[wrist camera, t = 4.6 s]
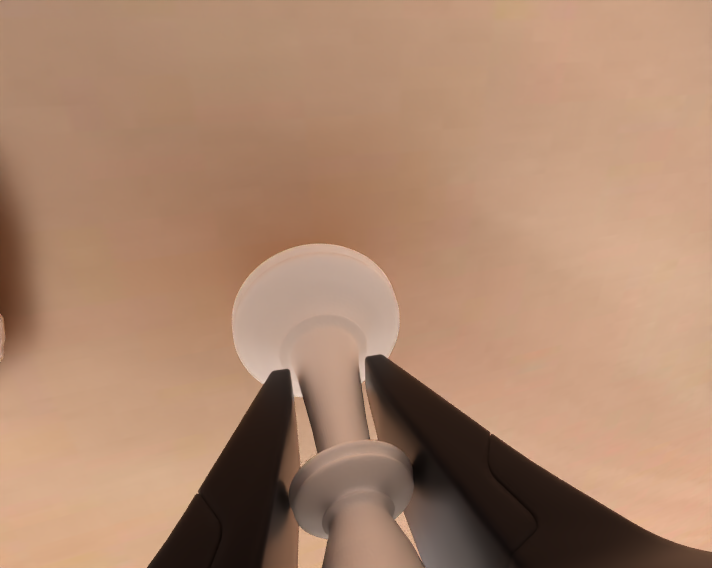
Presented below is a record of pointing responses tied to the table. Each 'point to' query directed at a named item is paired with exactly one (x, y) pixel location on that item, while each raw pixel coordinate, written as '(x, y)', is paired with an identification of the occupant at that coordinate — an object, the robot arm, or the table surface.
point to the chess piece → (332, 394)
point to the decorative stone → (2, 337)
